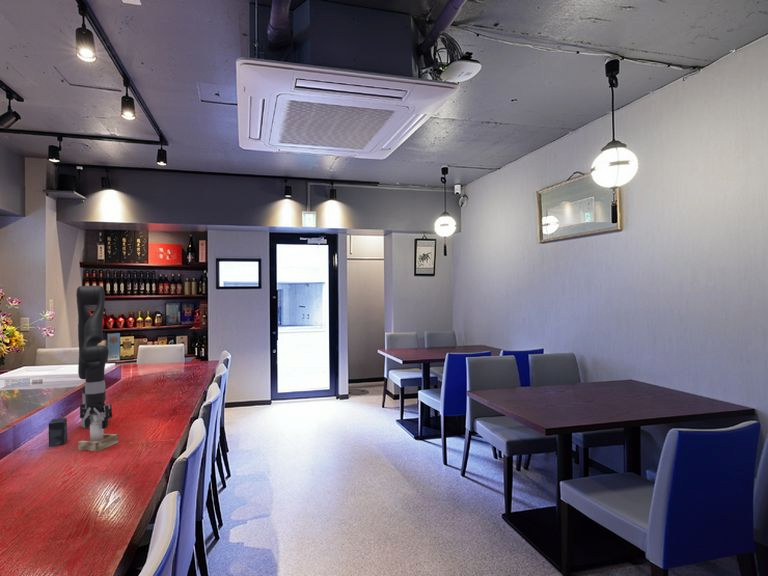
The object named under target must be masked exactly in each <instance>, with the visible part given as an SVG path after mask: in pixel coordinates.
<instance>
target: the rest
mask: <svg viewBox="0 0 768 576" xmlns="http://www.w3.org/2000/svg"><path fill="white" fill-rule="evenodd" d="M118 443H119V433H104V439H103V440H100V441H90V440H80V441H78V442H77V448H78V449H77V450H78V451H83V450H88V451H87V452H100V451H102V450H104V449H106V448H109V447H112V446H113V445H115V444H118ZM89 450H90V451H89Z"/></svg>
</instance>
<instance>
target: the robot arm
mask: <svg viewBox="0 0 768 576" xmlns="http://www.w3.org/2000/svg"><path fill="white" fill-rule="evenodd" d="M105 295H106V294H105V289H104V287H103V286H102V285H80V286H78V287H77V288H76V295H75V296H76V297H75V298H76V306H77V316H78V317H77V318H78V319H77V321H78V322H77V335H78V337H77V339H78V340H77V341H78V365H77V366H78V367H77V368H78V370H77V372H78V378H79V379H80V380H85V386H83V387H82V392H81V393H82V395H81V396H82V404H80V405H79V418H80V422H81V428H84V429H90V424H92V422H93V413H96V415H98V416H99V417H100V420H101V422H102V429H103V430H105V429H107V428H108V427H109V419H111V418H113V408H112V404H111V403H109V404H105V401H106V400H107V399H106V398H107V397H106V396H107V395H106V382H105V380H106V379H105V378H106V377H105V370H106V369H105V367H106V363H107V360H108V357H109V348H108V347H107V346H106V345H103V344H101V343H102V342H103V340H104V333H103V331H104V329H103V324H104V323H103V322H104V315H105V314H104V313H105V312H104V311H105V301H106V300H105V298H106V297H105ZM86 306H96V307H95V310H94V311H93V312H92V314H90V312H89V311H88V309H87V307H86ZM99 344H100V345H99Z"/></svg>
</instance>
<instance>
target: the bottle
mask: <svg viewBox="0 0 768 576" xmlns="http://www.w3.org/2000/svg"><path fill="white" fill-rule="evenodd" d="M104 434H105V433H104V429H102V422H101V420H100V417H99V416H98V415H96V413H93V422H92V424H90V428H89V441H100V440H103V439H104Z"/></svg>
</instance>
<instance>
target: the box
mask: <svg viewBox="0 0 768 576" xmlns="http://www.w3.org/2000/svg"><path fill="white" fill-rule="evenodd" d="M67 441H68V417H59V418H52V419H51V420H50V422H48V447H49V448H51V447H58V446H59V447H60V446H64V444H65V443H66V442H67Z"/></svg>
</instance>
